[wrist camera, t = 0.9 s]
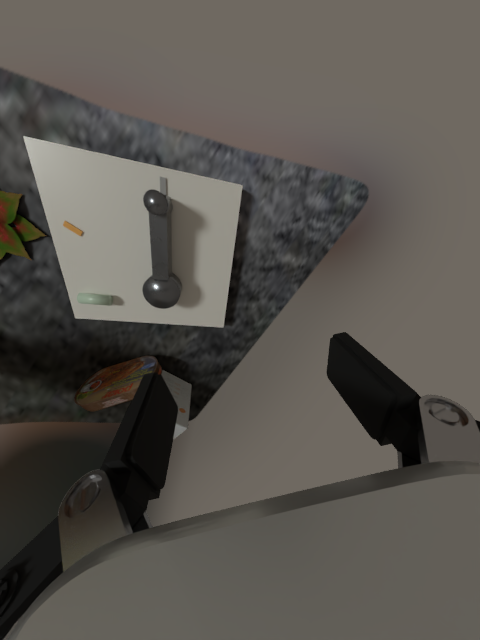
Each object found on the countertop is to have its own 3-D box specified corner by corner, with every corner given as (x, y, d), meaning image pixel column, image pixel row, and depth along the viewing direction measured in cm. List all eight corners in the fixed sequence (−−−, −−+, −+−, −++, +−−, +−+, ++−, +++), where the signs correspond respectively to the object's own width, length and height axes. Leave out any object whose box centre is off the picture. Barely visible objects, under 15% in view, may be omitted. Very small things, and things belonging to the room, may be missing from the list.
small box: (147, 383, 41) (129, 430, 32) (162, 368, 39) (148, 413, 30) (177, 397, 44) (169, 444, 35) (192, 384, 43) (188, 429, 34)
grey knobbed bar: (182, 302, 30) (178, 313, 27) (149, 299, 29) (141, 310, 26) (183, 198, 24) (178, 194, 20) (141, 190, 23) (128, 184, 19)
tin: (161, 350, 37) (149, 382, 30) (168, 361, 39) (158, 394, 31) (89, 371, 37) (60, 408, 30) (99, 381, 39) (73, 419, 31)
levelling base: (82, 312, 31) (68, 323, 28) (38, 142, 21) (8, 129, 18) (222, 322, 36) (224, 331, 33) (240, 187, 26) (244, 183, 23)
